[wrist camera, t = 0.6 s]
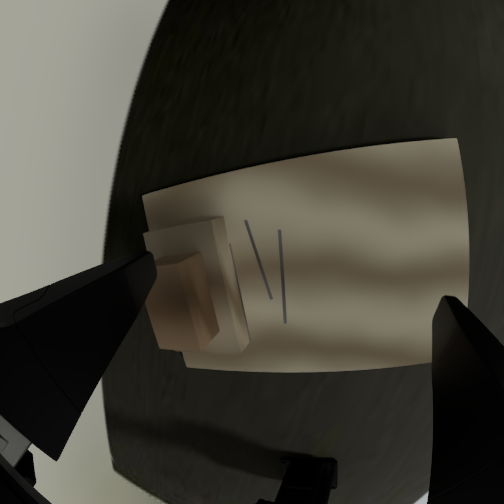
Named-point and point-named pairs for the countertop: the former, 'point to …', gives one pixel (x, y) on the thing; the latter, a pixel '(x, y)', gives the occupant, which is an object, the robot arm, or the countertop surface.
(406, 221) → the board
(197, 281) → the block
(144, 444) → the countertop surface
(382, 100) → the countertop surface
